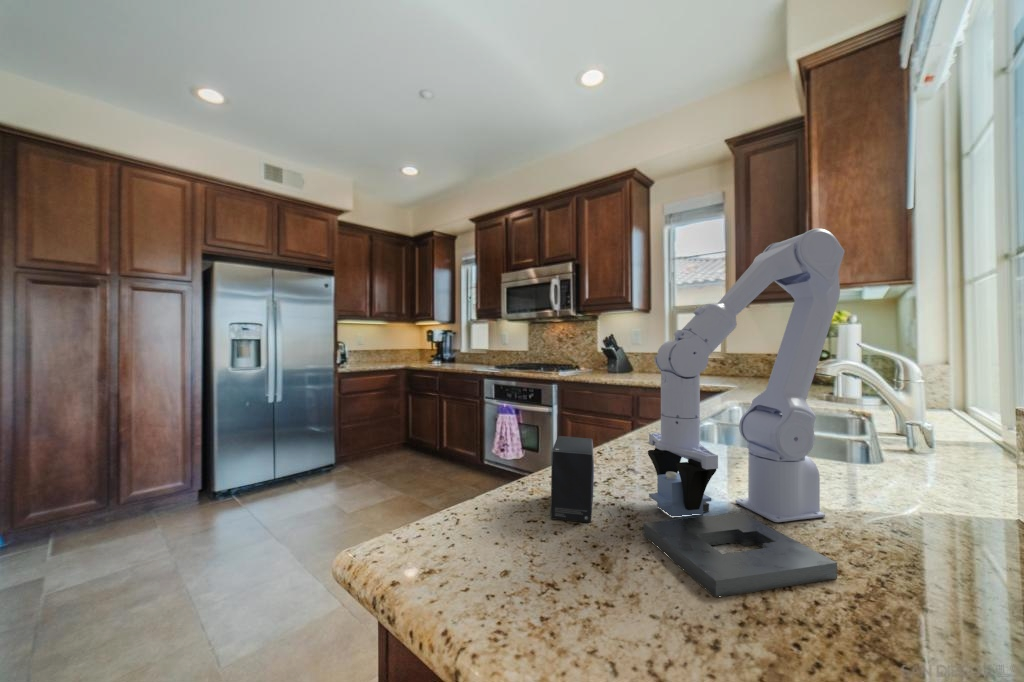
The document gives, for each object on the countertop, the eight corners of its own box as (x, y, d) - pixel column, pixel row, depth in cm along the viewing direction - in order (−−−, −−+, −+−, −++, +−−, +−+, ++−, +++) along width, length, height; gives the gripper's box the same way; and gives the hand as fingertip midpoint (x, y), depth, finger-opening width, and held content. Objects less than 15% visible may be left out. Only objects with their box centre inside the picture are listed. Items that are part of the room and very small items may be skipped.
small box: (593, 524, 59) (593, 453, 59) (549, 520, 61) (549, 450, 61) (593, 497, 70) (593, 436, 70) (556, 494, 71) (556, 435, 71)
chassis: (741, 524, 60) (741, 512, 60) (837, 578, 46) (837, 562, 46) (643, 535, 56) (643, 522, 56) (715, 597, 42) (715, 580, 42)
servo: (696, 504, 67) (696, 466, 67) (713, 513, 63) (713, 474, 63) (649, 509, 65) (649, 470, 65) (662, 519, 61) (662, 478, 61)
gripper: (633, 408, 70) (633, 487, 70) (687, 425, 56) (687, 523, 56) (669, 407, 72) (669, 484, 72) (730, 423, 58) (730, 518, 58)
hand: (679, 501), depth 64 cm, fingers open, 5 cm apart
